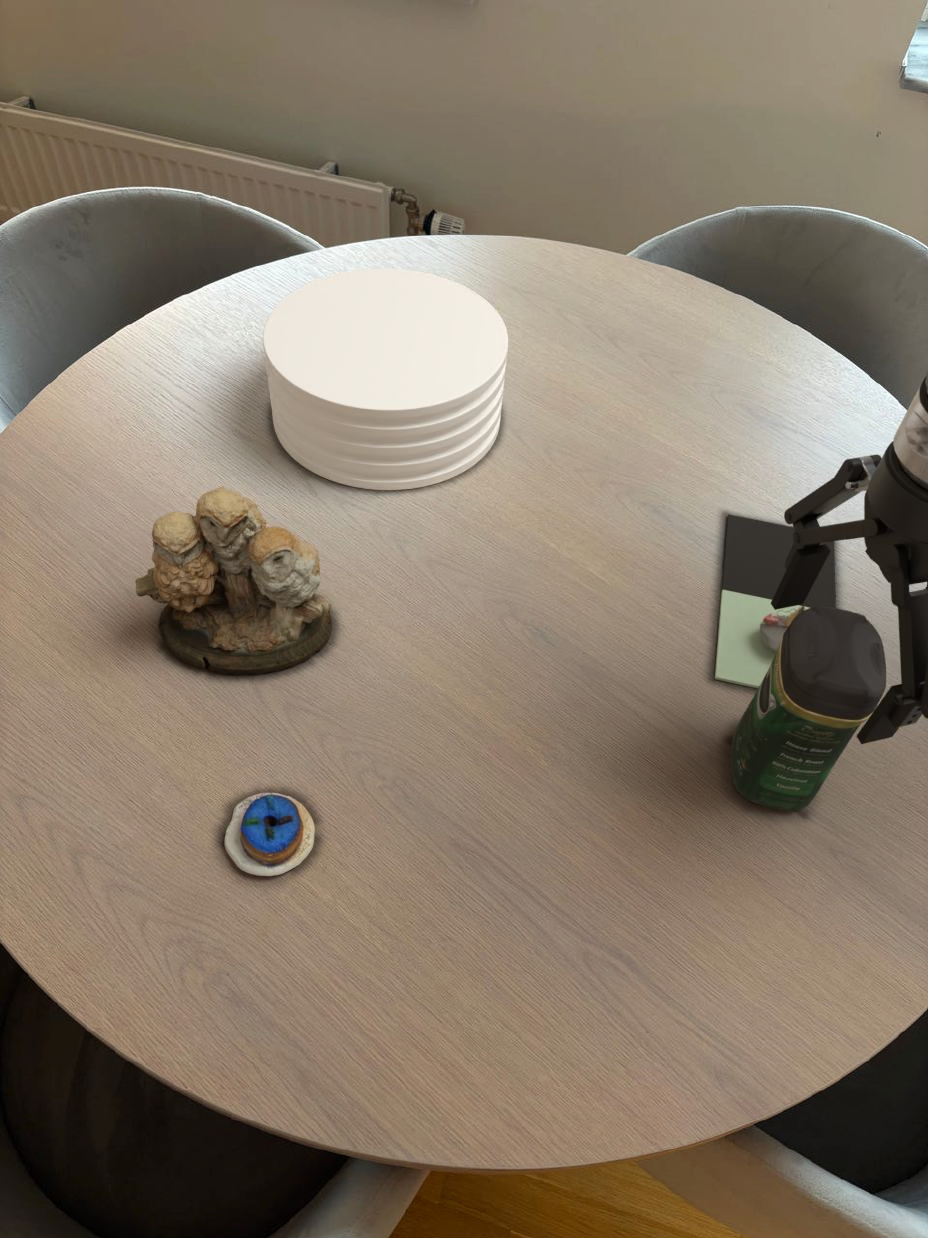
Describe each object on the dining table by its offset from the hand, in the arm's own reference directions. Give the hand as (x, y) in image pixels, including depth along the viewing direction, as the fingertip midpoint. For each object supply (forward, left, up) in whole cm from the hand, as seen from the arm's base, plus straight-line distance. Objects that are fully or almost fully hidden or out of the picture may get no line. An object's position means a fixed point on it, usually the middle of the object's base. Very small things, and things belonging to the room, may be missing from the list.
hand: (827, 667), depth 76 cm
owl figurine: (+28, +44, -16) cm, 55 cm away
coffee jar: (0, 0, -16) cm, 16 cm away
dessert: (+5, +45, -16) cm, 48 cm away
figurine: (+13, -8, -15) cm, 21 cm away
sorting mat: (+18, -11, -16) cm, 26 cm away
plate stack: (+58, +22, -16) cm, 64 cm away
